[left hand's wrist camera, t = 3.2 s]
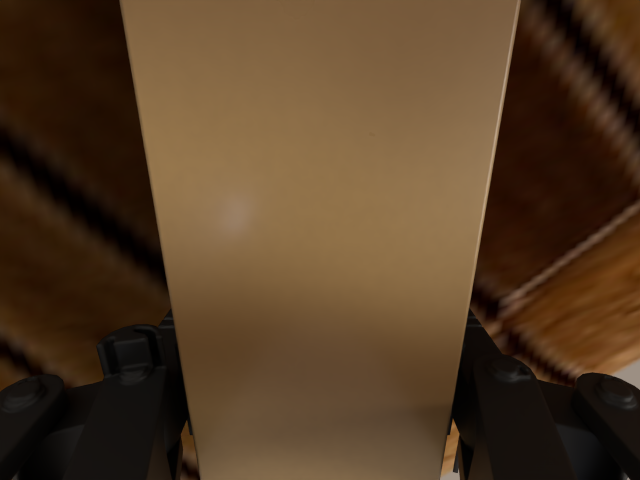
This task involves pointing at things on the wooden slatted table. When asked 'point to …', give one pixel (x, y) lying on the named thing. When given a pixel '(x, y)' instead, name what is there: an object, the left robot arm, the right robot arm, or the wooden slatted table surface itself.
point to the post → (320, 219)
